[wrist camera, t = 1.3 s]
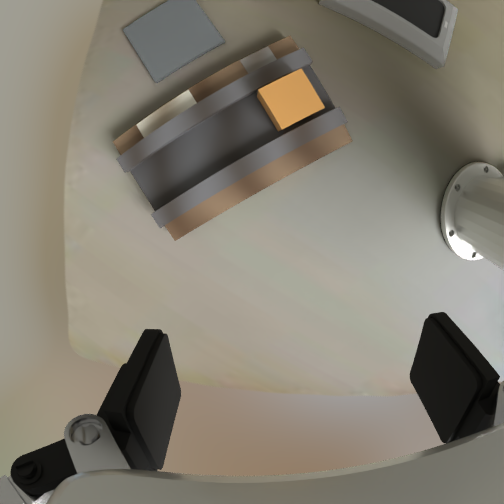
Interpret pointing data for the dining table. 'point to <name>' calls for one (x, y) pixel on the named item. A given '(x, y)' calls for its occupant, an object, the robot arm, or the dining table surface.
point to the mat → (172, 36)
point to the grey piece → (226, 140)
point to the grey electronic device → (406, 23)
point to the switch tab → (289, 99)
